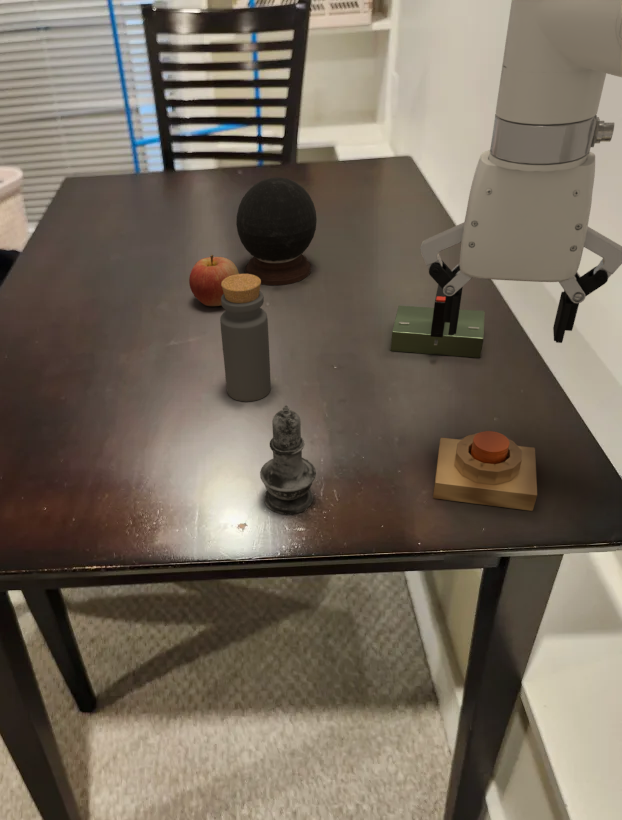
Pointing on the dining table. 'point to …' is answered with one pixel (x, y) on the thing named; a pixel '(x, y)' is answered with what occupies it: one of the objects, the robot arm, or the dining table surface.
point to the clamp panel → (416, 331)
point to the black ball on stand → (277, 230)
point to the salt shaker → (287, 467)
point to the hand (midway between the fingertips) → (504, 332)
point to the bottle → (245, 338)
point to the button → (490, 447)
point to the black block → (438, 314)
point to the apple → (210, 279)
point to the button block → (485, 476)
